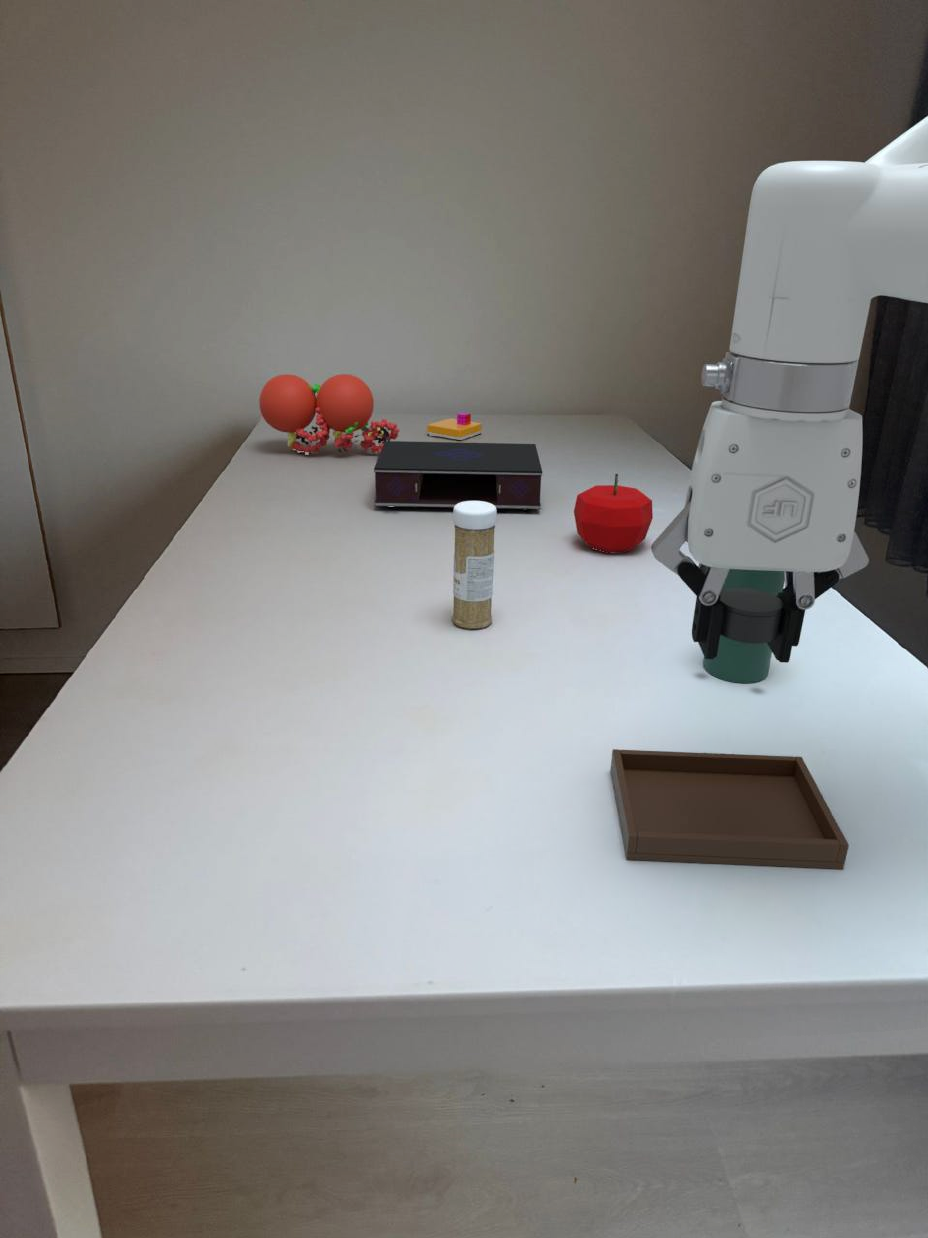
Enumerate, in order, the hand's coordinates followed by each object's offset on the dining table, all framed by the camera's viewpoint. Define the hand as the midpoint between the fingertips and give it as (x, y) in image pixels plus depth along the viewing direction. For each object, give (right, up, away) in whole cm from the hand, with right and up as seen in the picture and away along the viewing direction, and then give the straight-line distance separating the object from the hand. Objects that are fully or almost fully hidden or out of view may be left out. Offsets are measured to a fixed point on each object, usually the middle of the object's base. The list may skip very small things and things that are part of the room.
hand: (742, 649), depth 63 cm
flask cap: (0, +3, -1) cm, 3 cm away
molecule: (-44, +33, +105) cm, 118 cm away
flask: (+8, -3, +28) cm, 30 cm away
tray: (0, -13, +6) cm, 14 cm away
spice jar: (-19, +2, +38) cm, 42 cm away
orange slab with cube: (-21, +39, +121) cm, 129 cm away
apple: (+1, +12, +62) cm, 63 cm away
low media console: (-20, +22, +81) cm, 87 cm away
